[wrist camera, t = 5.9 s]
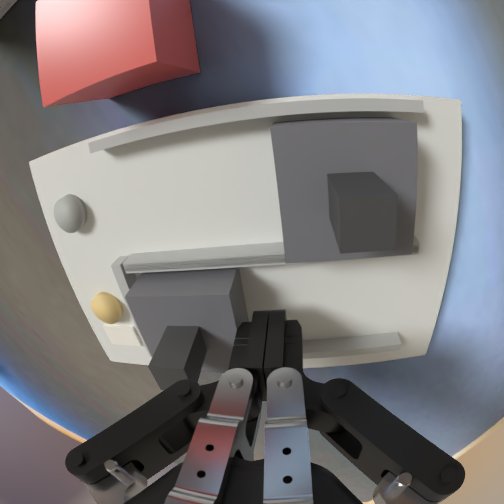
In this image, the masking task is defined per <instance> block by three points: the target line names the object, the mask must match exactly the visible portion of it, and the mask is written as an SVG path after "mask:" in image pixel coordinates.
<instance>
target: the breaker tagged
mask: <svg viewBox="0 0 504 504" xmlns="http://www.w3.org/2000/svg"><path fill="white" fill-rule="evenodd" d="M125 299H126V301H127V303H128V306H129V308H130V311H131V313H132V315H133V317H134V320H135V322H136V324H137V326H138V329H139V331H140V333H141V335H142V337H143V339H144V342H145V344H146V346H147V348H148V350H149V352H150V354H151V356H152V359H151V361H150V363H149V365H148V367H149V369H150V371H151V372H152V374H153V376H154V378H155V380H156V382H157V383H158V385H159V387H160V389H161V390H166V389H167V388H168V387H170V386H171V385H173V384H174V383H176V382H177V381H180V380H184V379H190V380H193V381H195V382H198V379H199V375H200V372H211V373H225V372H226V371H228V367H229V363H230V358H231V354H232V349H233V346H234V340H235V336H236V331H237V329H238V327H239V326H240V325H241V324H242V322H249V319H248V314H247V309H246V303H245V298H244V293H243V287H242V282H241V276H240V271H239V267H236V268H219V269H202V270H184V271H165V272H146V273H142V274H141V275H140V276H139V278H138V279H137V280H136V282H135V283H134V284H133V286H132V287H131V289H130V290H129V291H128V293H127V294H126V296H125Z"/></svg>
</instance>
